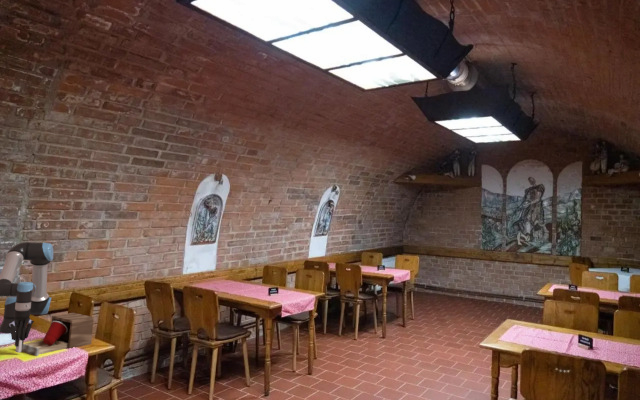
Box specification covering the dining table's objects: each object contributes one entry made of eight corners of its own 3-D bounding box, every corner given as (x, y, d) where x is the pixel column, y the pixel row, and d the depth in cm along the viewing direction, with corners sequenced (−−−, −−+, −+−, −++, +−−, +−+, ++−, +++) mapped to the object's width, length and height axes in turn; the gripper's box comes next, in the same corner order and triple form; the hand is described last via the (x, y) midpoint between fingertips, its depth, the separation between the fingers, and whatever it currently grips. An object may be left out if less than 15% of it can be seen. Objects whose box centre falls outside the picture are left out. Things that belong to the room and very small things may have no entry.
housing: (49, 343, 283) (52, 315, 284) (71, 339, 296) (73, 312, 297) (69, 349, 274) (72, 320, 275) (91, 344, 287) (93, 317, 288)
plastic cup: (59, 349, 274) (71, 332, 284) (51, 337, 268) (63, 321, 277) (43, 347, 276) (55, 331, 286) (35, 336, 270) (48, 320, 279)
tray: (16, 349, 265) (16, 342, 265) (48, 343, 282) (49, 336, 283) (36, 355, 256) (37, 348, 256) (69, 348, 274) (69, 342, 274)
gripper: (14, 312, 251) (10, 355, 249) (38, 309, 262) (33, 350, 261) (6, 310, 254) (2, 353, 253) (30, 307, 266) (26, 348, 264)
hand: (18, 351), depth 257 cm, fingers closed
